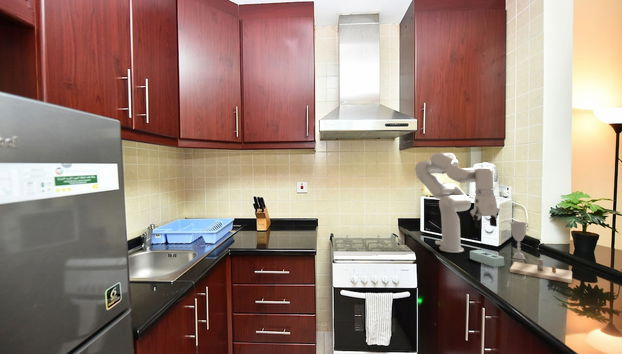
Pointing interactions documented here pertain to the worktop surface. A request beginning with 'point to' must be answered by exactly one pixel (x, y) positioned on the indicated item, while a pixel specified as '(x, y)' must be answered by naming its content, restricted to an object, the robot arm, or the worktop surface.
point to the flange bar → (487, 258)
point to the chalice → (518, 236)
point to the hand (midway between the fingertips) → (485, 226)
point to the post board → (542, 271)
